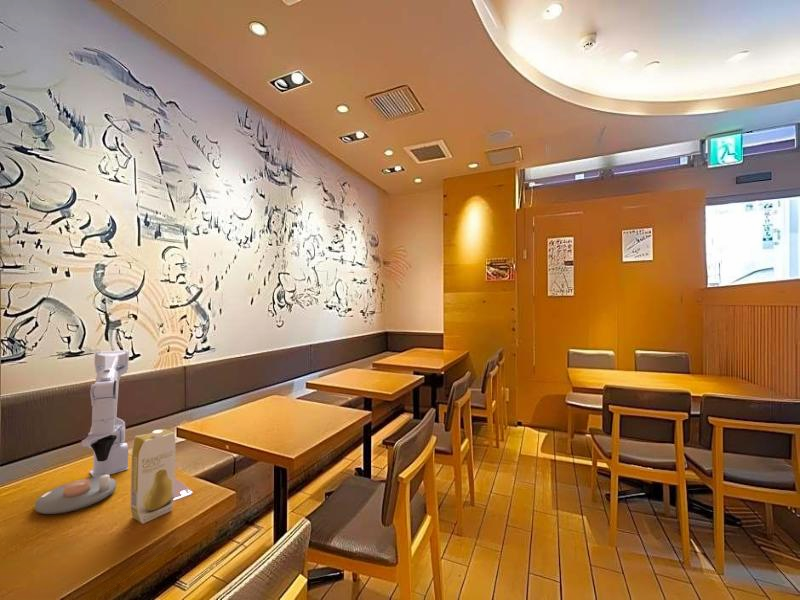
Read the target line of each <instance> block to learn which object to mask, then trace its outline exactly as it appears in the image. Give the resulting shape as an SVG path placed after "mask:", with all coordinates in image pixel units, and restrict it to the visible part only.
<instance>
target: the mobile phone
mask: <svg viewBox="0 0 800 600" xmlns="http://www.w3.org/2000/svg"><path fill="white" fill-rule="evenodd" d="M192 494H193V491H192V490H191V489H190V488H189V487H188V486H187V485H186V484H184V483H183V482H182V481H181V479H179V478H177V477H175V483H174V501H173V502H176V501H178V500H181V499H183V498H186V497H188V496H191V495H192Z"/></svg>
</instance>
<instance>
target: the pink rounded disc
mask: <svg viewBox="0 0 800 600" xmlns="http://www.w3.org/2000/svg"><path fill="white" fill-rule="evenodd" d="M90 482H91V481H90V480H89V478H83V479H78V480H74V481H71V482H69V484H68V483H66V484H67V485H65V484H64V485H65V486H64V492H63V496H64V497H65V498H71V497H76V496H80V495H82V494H85V493H87V492H88V491H89V490H90Z"/></svg>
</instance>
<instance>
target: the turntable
mask: <svg viewBox="0 0 800 600" xmlns="http://www.w3.org/2000/svg"><path fill="white" fill-rule="evenodd" d="M110 475H111V474H110ZM110 475H103V476H101V477H96V478H93V477H90V478H88V479H89V480H90V481H91V482H90V490H89V491H88V492H87V493H85V494H82V495H80V496H76V497H71V498H65V497H64V496H63V492H64V486H65V485H67V484H69V483H70V482H69V483H65V484H63V485H61V486H57V487H54V488H53V489H51V490H49V491H46V492H45V493H43V494H42V495H41V496H39V497H38V498H37V499H36V500H35V504H34V510H35V511H36V512H37V513H39V514H42V515H45V514H46V515H53V514H54V515H55V514H56V513H59V514H64V513H63V512H67V513H69V512H68V511H71V512H73V511H72V510H75V511H77V510H76V509H79V510H81V509H80V508H82V509H84V508H83V507H85V508H87V507H86V506H88V507H90V506H92V505H94V503H95V504H97V503H99V502H100V501H103V500H104V499H106V498H107V497H108V496H110V495H111V494H112V493H113V492H115V490H116V487H117V480H115V479H114V478H112V477H111V476H110ZM91 504H92V505H91ZM89 505H90V506H89Z"/></svg>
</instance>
